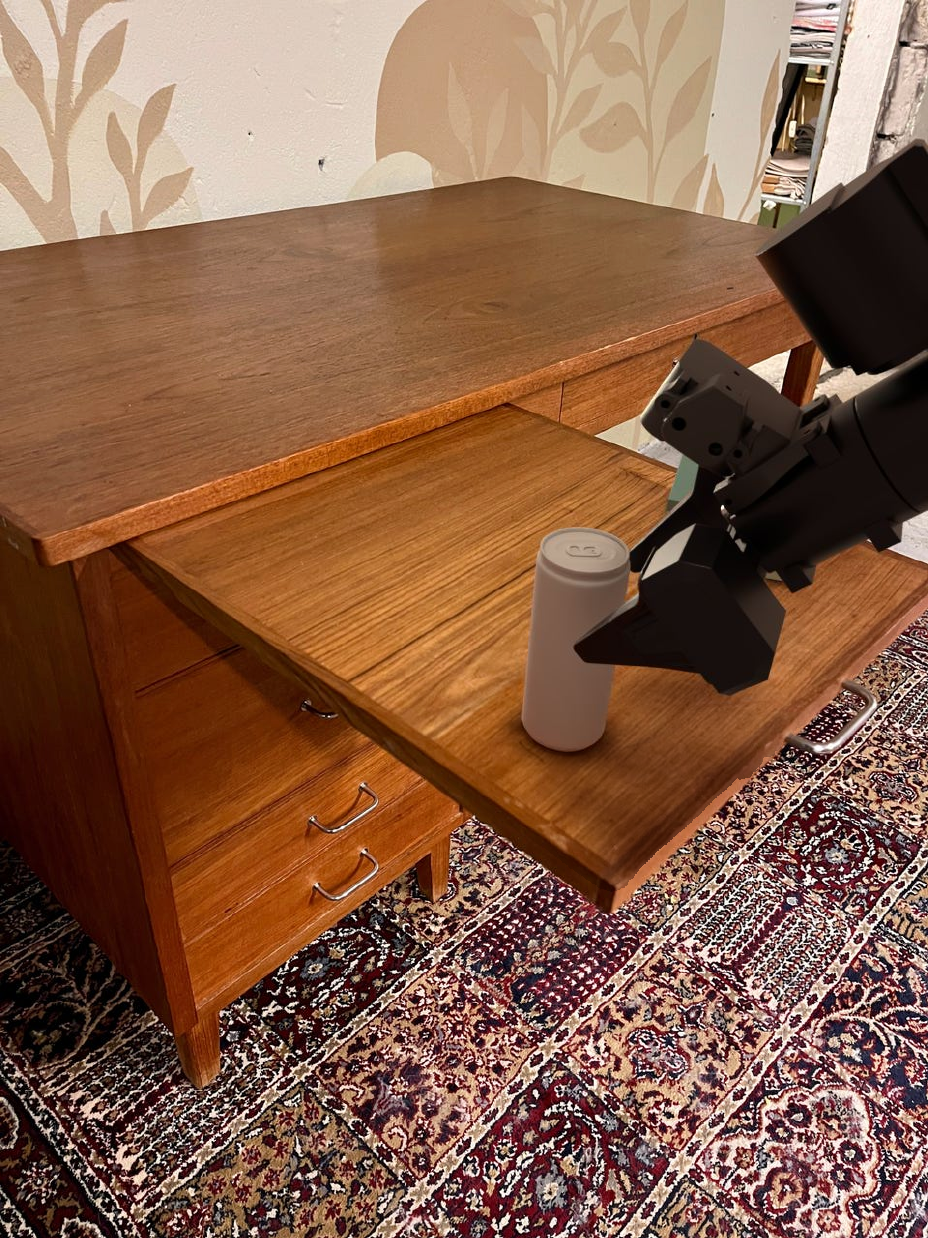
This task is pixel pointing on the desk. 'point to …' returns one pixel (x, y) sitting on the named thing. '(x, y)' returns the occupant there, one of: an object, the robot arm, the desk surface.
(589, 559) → the beverage can
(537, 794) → the desk surface
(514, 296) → the desk surface
